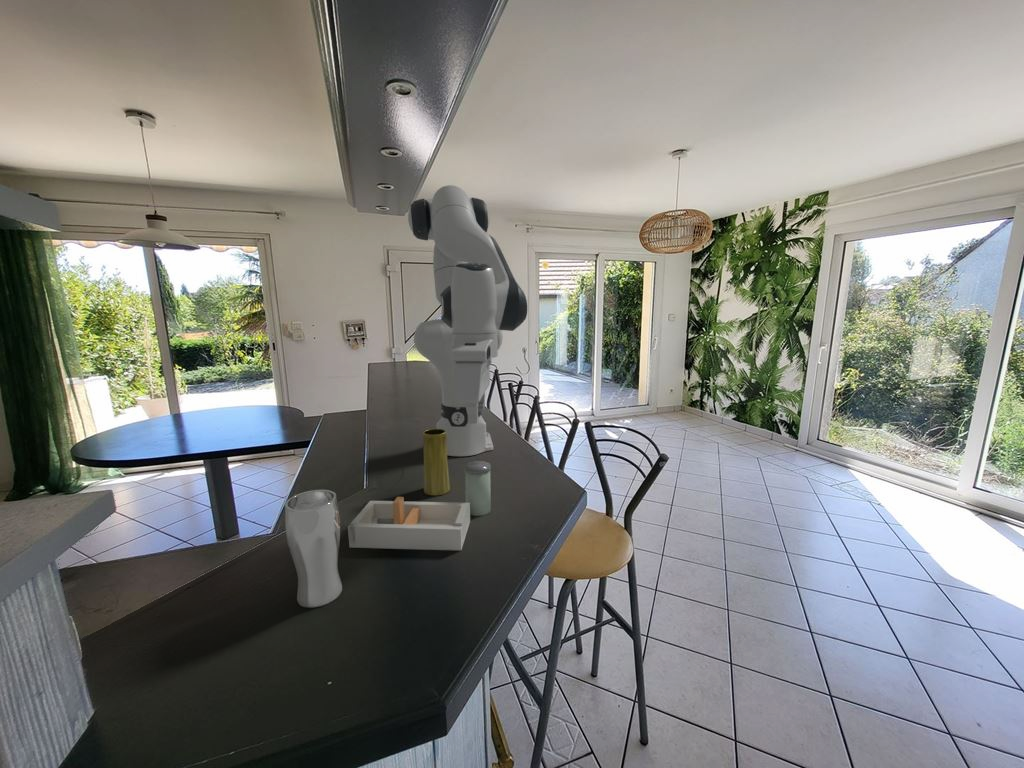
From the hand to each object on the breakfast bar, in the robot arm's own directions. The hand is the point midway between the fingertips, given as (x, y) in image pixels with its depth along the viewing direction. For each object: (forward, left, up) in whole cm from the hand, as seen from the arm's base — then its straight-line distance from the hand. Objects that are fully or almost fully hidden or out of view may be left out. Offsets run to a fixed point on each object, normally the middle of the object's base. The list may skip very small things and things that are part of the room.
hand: (476, 416), depth 83 cm
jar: (0, 0, -20) cm, 20 cm away
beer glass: (+27, -20, -21) cm, 39 cm away
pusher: (+10, -14, -19) cm, 26 cm away
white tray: (+10, -11, -20) cm, 25 cm away
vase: (-9, -11, -21) cm, 25 cm away
